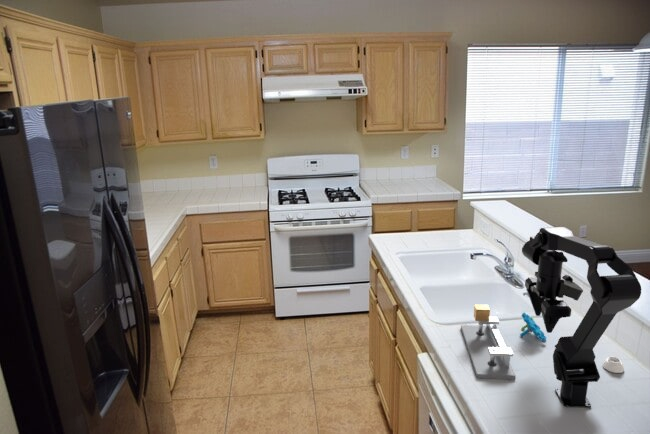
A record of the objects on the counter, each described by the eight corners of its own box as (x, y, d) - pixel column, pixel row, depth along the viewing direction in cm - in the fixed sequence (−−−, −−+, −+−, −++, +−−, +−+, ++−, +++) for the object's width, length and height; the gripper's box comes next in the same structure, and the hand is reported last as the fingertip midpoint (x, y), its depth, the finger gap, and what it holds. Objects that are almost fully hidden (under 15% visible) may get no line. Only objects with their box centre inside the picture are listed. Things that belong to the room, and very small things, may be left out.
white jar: (598, 364, 130) (612, 375, 125) (599, 355, 129) (613, 366, 124) (613, 362, 131) (627, 372, 126) (614, 353, 130) (629, 363, 125)
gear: (550, 344, 137) (526, 318, 138) (533, 354, 139) (510, 329, 140) (546, 330, 147) (523, 306, 149) (530, 340, 150) (509, 316, 151)
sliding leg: (497, 335, 142) (500, 309, 140) (474, 334, 143) (476, 309, 141) (495, 330, 145) (497, 305, 143) (472, 329, 146) (474, 304, 144)
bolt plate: (515, 379, 124) (515, 375, 124) (477, 377, 126) (477, 373, 125) (492, 329, 149) (492, 325, 149) (460, 328, 150) (461, 324, 150)
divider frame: (512, 367, 127) (513, 353, 126) (489, 366, 128) (490, 353, 127) (493, 327, 148) (494, 314, 147) (474, 326, 149) (474, 314, 148)
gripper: (596, 287, 114) (588, 343, 119) (567, 259, 132) (561, 308, 137) (549, 286, 116) (543, 341, 120) (526, 258, 133) (521, 307, 138)
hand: (543, 323), depth 129 cm, fingers open, 9 cm apart
